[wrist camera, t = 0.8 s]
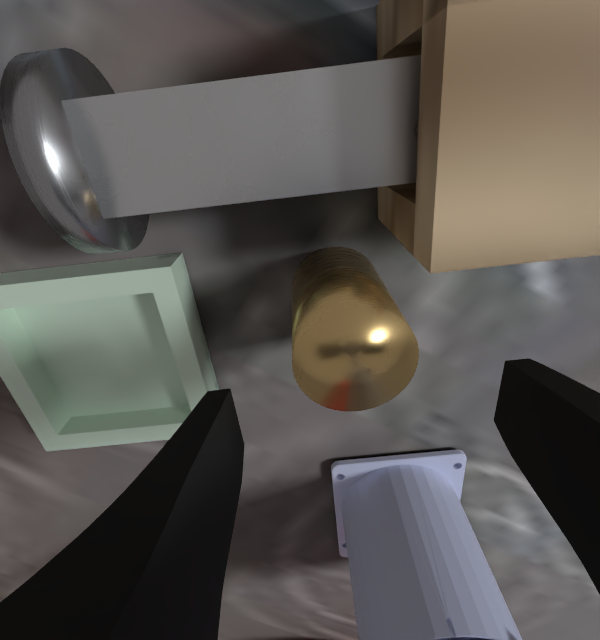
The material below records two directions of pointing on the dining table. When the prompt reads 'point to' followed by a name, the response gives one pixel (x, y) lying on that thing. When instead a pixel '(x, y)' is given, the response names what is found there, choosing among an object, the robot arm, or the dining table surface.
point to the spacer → (348, 333)
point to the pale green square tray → (104, 350)
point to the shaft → (199, 140)
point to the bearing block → (498, 131)
